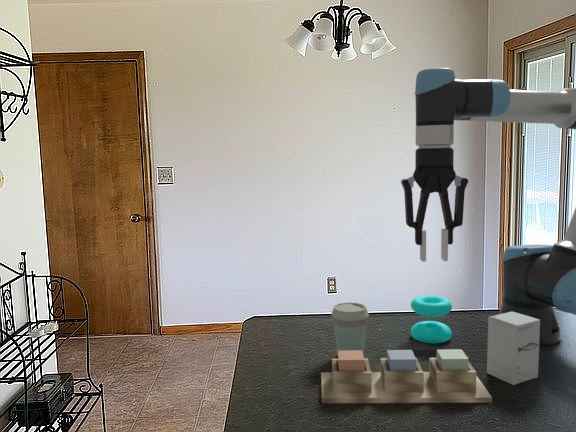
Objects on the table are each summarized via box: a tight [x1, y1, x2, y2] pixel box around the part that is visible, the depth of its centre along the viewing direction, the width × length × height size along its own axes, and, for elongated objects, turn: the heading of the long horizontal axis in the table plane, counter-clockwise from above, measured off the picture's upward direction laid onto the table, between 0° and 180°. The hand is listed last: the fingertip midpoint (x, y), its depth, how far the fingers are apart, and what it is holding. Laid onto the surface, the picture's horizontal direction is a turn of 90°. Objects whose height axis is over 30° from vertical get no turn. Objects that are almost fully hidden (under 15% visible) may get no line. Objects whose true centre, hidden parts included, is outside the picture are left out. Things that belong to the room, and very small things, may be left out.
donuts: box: [410, 295, 453, 344], centre depth 137 cm, size 10×10×10 cm
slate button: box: [386, 349, 417, 371], centre depth 109 cm, size 5×5×4 cm
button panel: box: [320, 357, 493, 404], centre depth 110 cm, size 32×12×5 cm, turn 87°
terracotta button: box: [337, 350, 365, 372], centre depth 110 cm, size 5×5×4 cm
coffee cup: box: [331, 301, 370, 355], centre depth 126 cm, size 8×8×12 cm
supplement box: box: [486, 312, 540, 386], centre depth 114 cm, size 7×7×13 cm
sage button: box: [436, 348, 470, 371], centre depth 109 cm, size 5×5×4 cm
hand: (433, 259), depth 114 cm, fingers open, 4 cm apart
